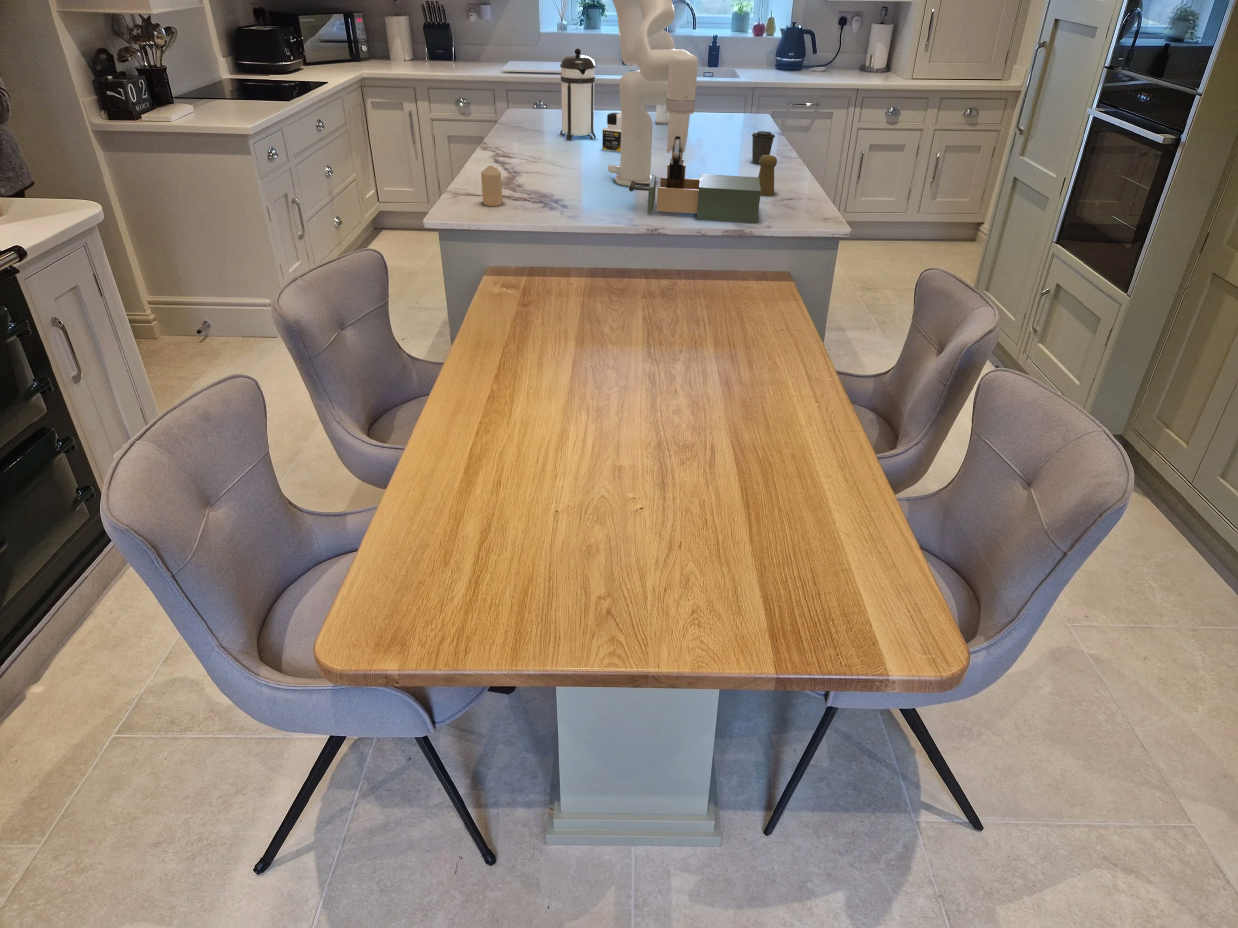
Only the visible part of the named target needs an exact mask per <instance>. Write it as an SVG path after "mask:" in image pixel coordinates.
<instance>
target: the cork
mask: <svg viewBox="0 0 1238 928" xmlns="http://www.w3.org/2000/svg"><path fill="white" fill-rule="evenodd" d="M759 163H760V165H759V166H760V168H759V172H758V176H757V177H759V181H760V188H761V195H760V196H761V197H762V196H764V197H770V196H774V195H775V168H776V166H777V164H778V159H777V157H776V156H775V155H772V154H770V155H763V156H762V157H761V158H760V161H759Z"/></svg>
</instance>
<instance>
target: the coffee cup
mask: <svg viewBox="0 0 1238 928" xmlns="http://www.w3.org/2000/svg"><path fill="white" fill-rule="evenodd" d="M775 138H776V136H775V134H774V133H772V132H771V131H764V130H760V131H759V130H758V131H754V132H752V134H751V139H752V144H751V145H752V149H751V155H752V156H751V162H752V164H754V165H759V166H760V163H759V161H760V158H761V157H762V156H763V155H771V152H772V147H773V143H774V139H775Z"/></svg>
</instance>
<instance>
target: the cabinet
mask: <svg viewBox="0 0 1238 928" xmlns="http://www.w3.org/2000/svg"><path fill="white" fill-rule="evenodd" d="M699 175H700V176H699V179H700V183H699V195H698V207H697V213H696V220H704V221H719V222H720V221H722V222H734V223H735V222H737V223H751V224H752V223H753V224H757V223H758V218H759V210H760V203H761V196H762V195H761V188H760V181H759V177H758V176H744V175H727V174H726V175H725V174H724V175H723V174H709V173H700V174H699Z"/></svg>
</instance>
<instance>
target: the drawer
mask: <svg viewBox="0 0 1238 928" xmlns="http://www.w3.org/2000/svg"><path fill="white" fill-rule="evenodd" d="M651 176H652V178H651V181H650V183H636V182H635V181H632V182H631V184H630V186H628V191H629V192H630V193H632V192H634V191H646V192H648V194H647V213H653V210H654V205H655V201H656V212H665V213H681V214H682V213H683V214H697V207H698V195H699V183H700V178H686V177H685V183H684V189H681V188H666V183H667V176H660V178H659V179H660V180H659V181H660V182H659V186H658V187H657V175H656V174H652V175H651ZM635 185H639V187H636V186H635ZM656 188H657V189H656ZM656 190H657V199H656Z"/></svg>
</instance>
